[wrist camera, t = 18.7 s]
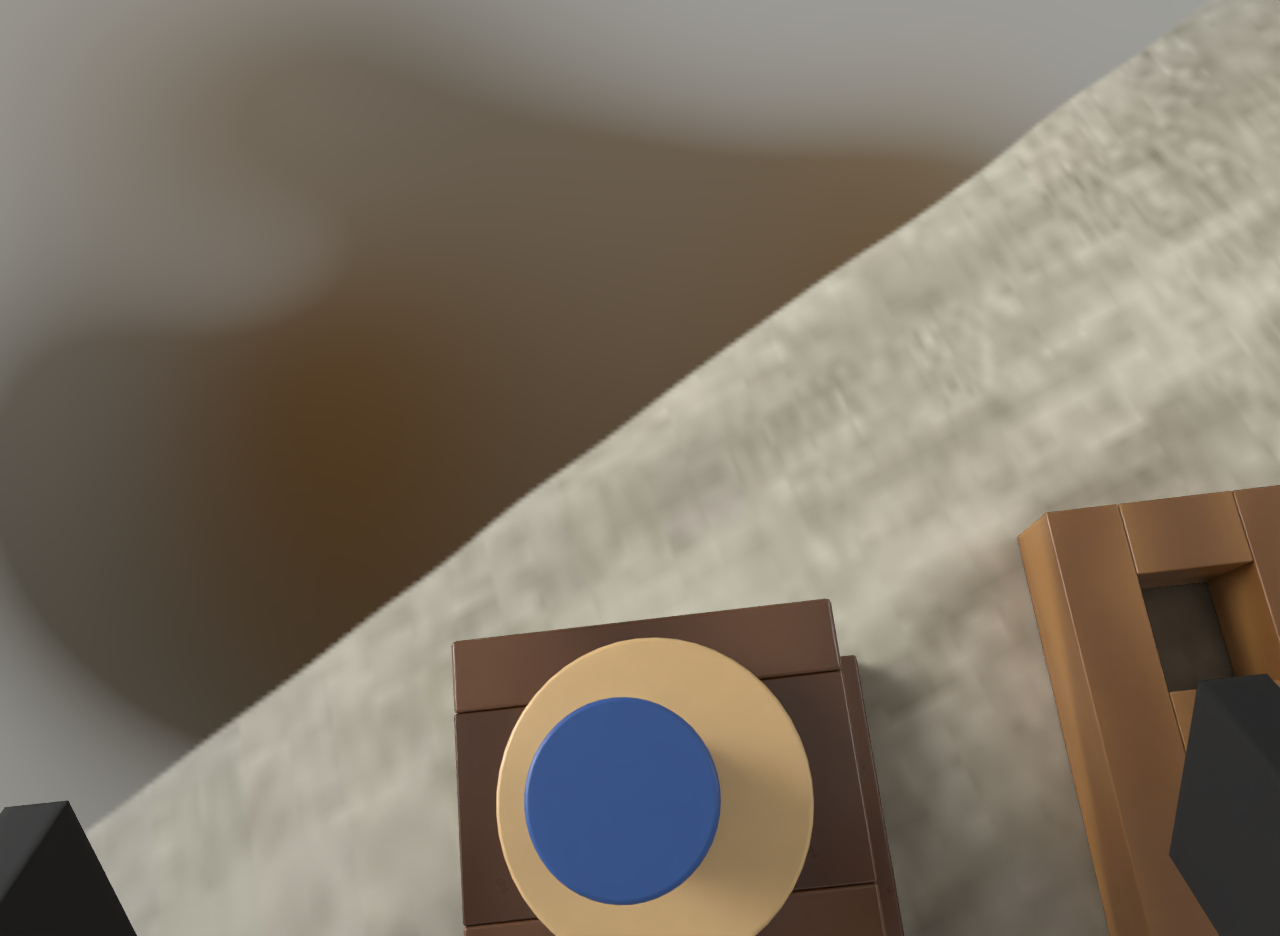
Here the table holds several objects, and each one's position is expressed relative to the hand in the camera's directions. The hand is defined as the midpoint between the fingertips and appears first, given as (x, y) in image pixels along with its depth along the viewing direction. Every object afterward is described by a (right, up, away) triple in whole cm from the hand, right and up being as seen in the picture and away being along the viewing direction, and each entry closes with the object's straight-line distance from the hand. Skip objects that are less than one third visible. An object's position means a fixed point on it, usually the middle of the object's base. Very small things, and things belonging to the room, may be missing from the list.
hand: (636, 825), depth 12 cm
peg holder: (+17, -4, +19) cm, 26 cm away
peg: (+1, -4, +14) cm, 15 cm away
